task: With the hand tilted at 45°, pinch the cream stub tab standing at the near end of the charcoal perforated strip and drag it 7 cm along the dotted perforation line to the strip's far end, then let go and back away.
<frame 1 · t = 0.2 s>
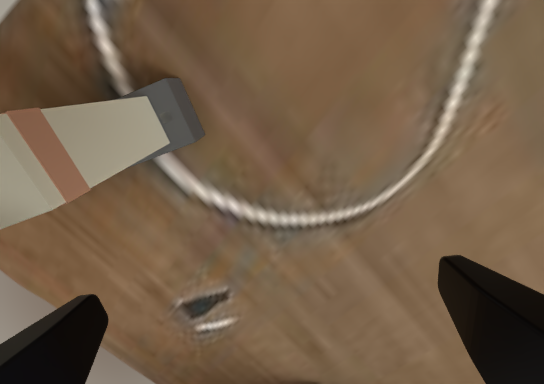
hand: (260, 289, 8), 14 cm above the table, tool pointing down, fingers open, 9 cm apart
stub tab: (77, 149, 13), point 8 cm above the table, slide at 0.0 cm
perforated strip: (106, 142, 21), on the table
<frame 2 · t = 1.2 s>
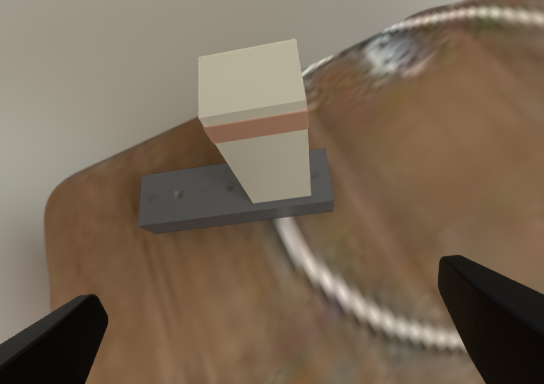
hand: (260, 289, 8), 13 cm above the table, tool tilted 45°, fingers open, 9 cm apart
stub tab: (268, 143, 16), point 8 cm above the table, slide at 0.0 cm
perforated strip: (240, 198, 23), on the table
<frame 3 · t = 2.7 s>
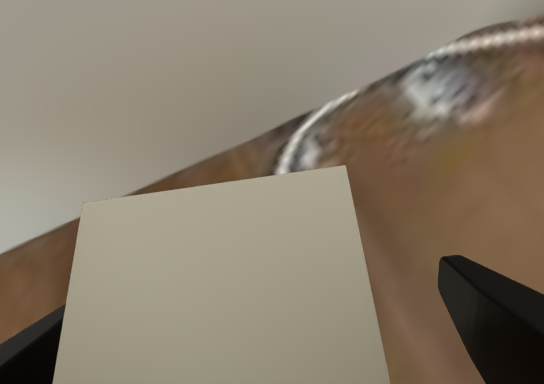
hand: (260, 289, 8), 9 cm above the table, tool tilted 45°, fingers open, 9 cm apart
stub tab: (268, 299, 8), point 8 cm above the table, slide at 0.0 cm
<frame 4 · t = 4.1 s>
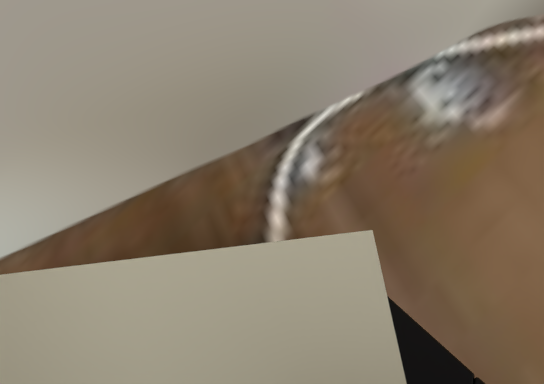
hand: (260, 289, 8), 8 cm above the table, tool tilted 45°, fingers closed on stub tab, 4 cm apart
stub tab: (264, 348, 7), point 8 cm above the table, slide at 0.0 cm, touching gripper
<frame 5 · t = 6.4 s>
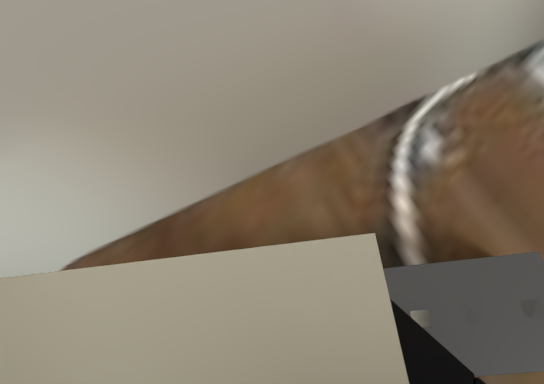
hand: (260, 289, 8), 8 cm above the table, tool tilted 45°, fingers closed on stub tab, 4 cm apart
stub tab: (265, 350, 7), point 8 cm above the table, slide at 6.8 cm, touching gripper
perforated strip: (359, 319, 14), on the table
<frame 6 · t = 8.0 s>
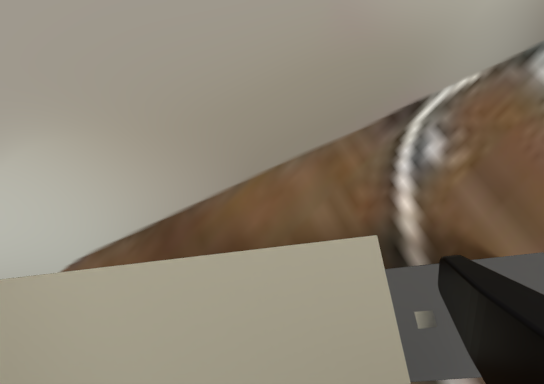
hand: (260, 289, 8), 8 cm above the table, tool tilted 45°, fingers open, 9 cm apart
stub tab: (266, 351, 7), point 8 cm above the table, slide at 6.9 cm
perforated strip: (363, 320, 14), on the table
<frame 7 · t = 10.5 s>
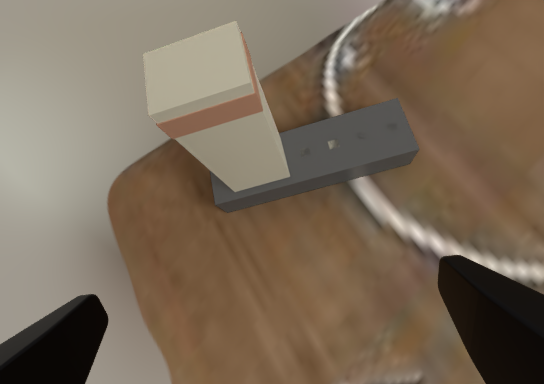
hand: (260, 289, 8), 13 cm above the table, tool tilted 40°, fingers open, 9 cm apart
stub tab: (235, 130, 16), point 8 cm above the table, slide at 6.9 cm
perforated strip: (308, 165, 22), on the table
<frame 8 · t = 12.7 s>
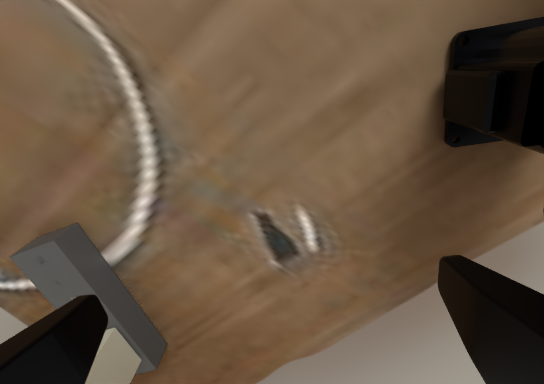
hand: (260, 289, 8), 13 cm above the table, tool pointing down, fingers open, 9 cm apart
perforated strip: (107, 295, 25), on the table
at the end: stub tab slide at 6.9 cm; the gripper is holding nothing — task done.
